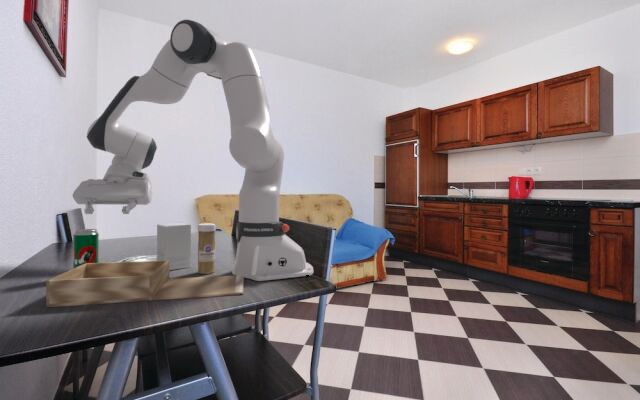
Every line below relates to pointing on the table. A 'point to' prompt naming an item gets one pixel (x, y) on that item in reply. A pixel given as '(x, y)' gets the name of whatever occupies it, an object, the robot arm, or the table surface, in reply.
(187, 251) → the supplement box
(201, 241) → the sprinkles bottle
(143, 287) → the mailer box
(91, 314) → the table surface
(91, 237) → the soda can
